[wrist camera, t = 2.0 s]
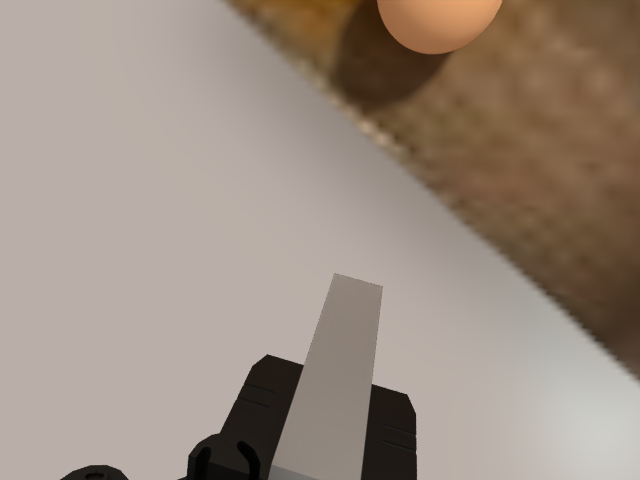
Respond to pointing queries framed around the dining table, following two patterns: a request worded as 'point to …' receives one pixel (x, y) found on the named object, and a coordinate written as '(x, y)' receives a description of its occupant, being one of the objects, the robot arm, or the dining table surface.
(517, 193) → the dining table surface
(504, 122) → the dining table surface
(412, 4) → the ball
